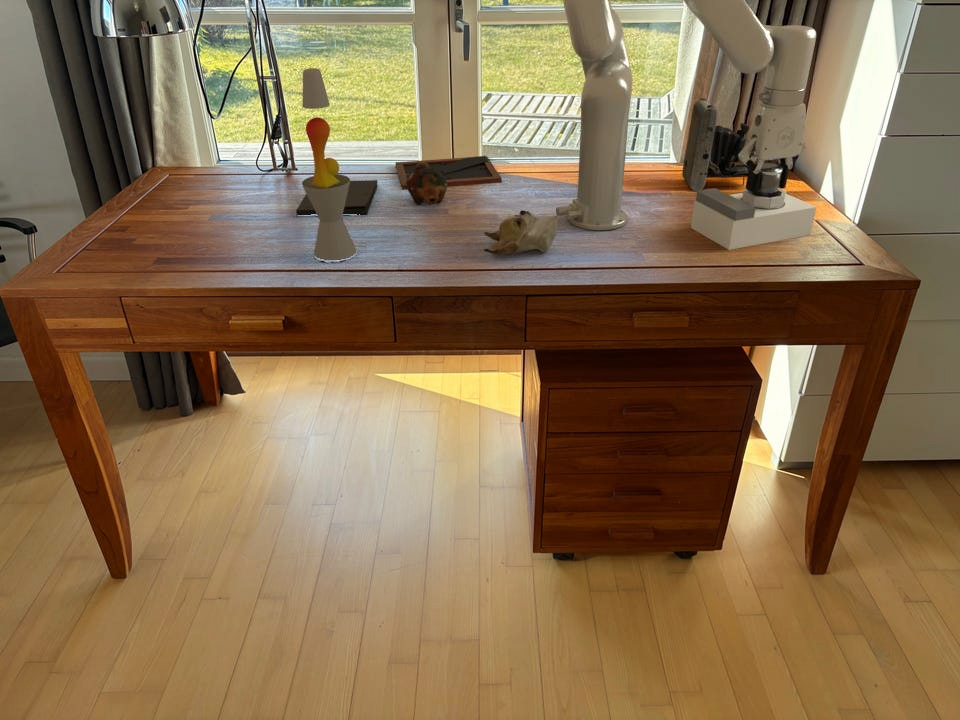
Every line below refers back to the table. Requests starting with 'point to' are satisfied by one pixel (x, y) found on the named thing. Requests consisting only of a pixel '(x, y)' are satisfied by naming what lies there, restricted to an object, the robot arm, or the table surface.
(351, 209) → the dark brown rectangular slab
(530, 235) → the ceramic sculpture
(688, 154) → the vintage camera
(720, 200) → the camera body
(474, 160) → the picture frame
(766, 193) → the silver grey short cylinder
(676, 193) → the table surface
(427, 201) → the brown rounded lump
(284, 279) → the table surface
